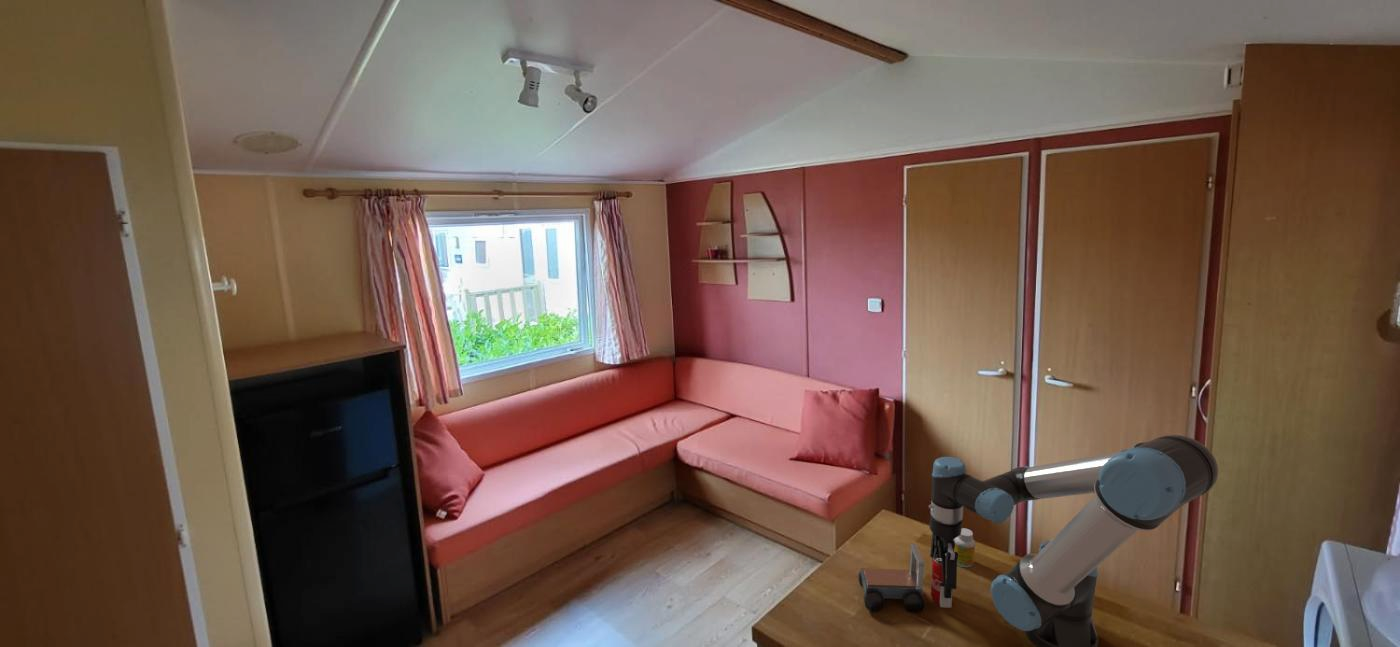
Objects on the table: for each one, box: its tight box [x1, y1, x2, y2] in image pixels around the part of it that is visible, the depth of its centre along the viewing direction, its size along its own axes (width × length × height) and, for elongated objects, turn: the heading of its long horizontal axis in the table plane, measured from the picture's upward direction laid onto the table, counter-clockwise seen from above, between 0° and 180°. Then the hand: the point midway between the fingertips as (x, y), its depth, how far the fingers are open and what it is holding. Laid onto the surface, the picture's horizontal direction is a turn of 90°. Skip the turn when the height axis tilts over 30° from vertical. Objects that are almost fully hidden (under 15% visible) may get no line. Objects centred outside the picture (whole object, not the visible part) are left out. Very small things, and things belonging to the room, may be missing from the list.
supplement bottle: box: [953, 527, 976, 568], centre depth 173 cm, size 5×5×10 cm
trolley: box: [857, 543, 926, 614], centre depth 159 cm, size 15×11×14 cm
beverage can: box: [930, 554, 943, 606], centre depth 158 cm, size 5×5×12 cm
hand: (941, 596), depth 159 cm, fingers open, 7 cm apart
